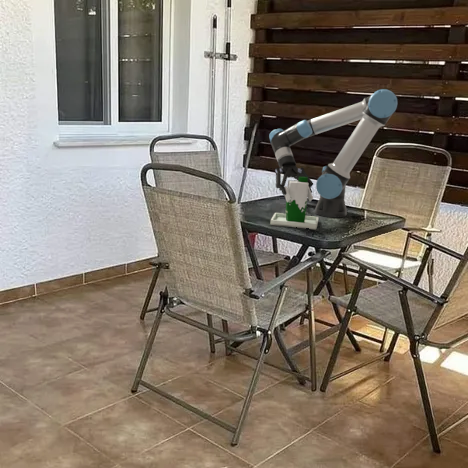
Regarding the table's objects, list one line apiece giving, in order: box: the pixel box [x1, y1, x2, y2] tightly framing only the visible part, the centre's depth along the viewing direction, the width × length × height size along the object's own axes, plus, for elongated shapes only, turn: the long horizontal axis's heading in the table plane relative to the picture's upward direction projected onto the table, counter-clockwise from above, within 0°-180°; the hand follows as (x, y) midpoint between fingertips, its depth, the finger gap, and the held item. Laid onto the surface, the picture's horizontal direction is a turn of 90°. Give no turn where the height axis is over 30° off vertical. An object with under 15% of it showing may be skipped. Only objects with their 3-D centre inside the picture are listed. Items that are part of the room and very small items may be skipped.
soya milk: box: [285, 176, 309, 223], centre depth 270 cm, size 9×9×20 cm
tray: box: [269, 212, 319, 230], centre depth 272 cm, size 20×16×2 cm
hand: (300, 200), depth 267 cm, fingers open, 11 cm apart
